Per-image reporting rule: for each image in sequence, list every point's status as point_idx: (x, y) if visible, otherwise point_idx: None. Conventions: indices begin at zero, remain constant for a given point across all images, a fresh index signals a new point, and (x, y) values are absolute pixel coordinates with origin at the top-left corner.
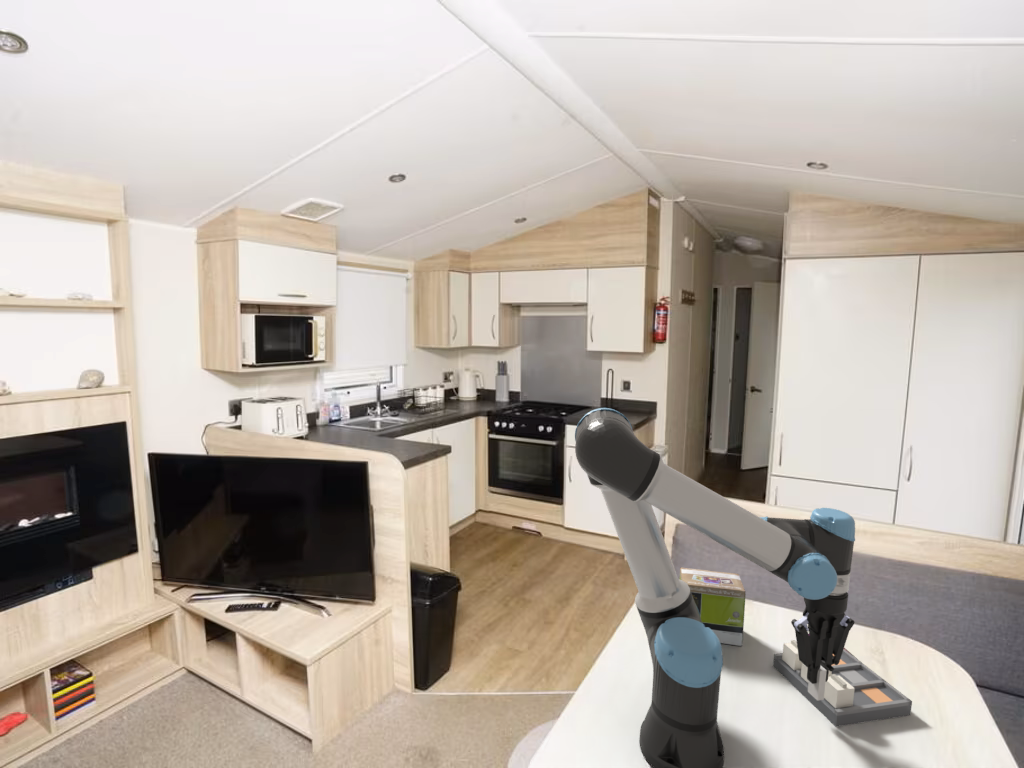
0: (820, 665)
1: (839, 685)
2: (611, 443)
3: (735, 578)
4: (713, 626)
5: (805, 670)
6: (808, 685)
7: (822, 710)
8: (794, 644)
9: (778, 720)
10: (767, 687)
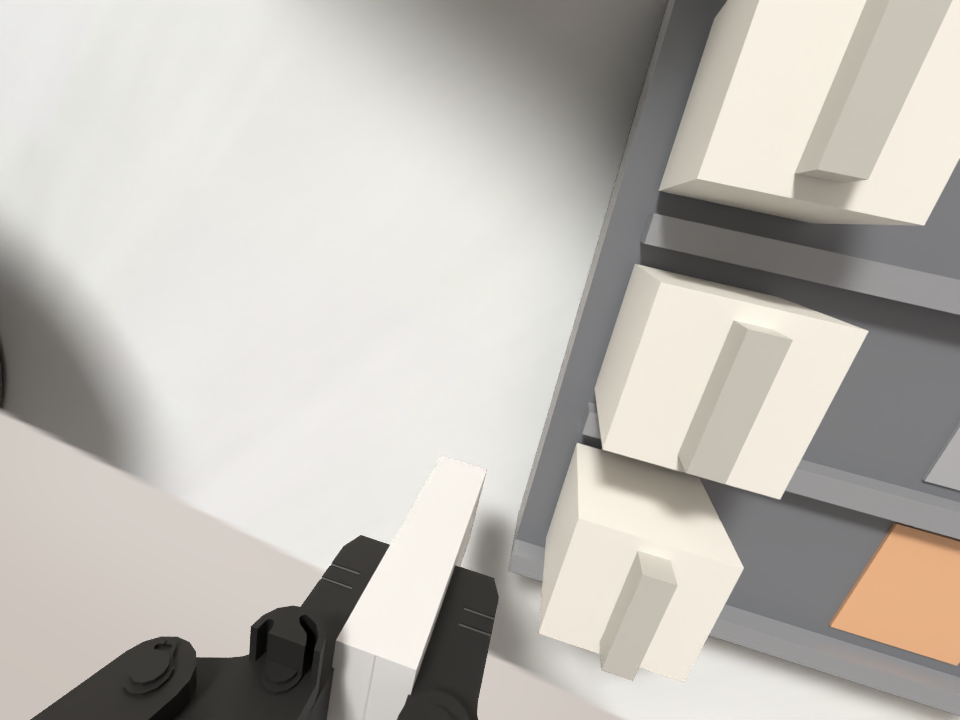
0: (400, 711)
1: (608, 617)
2: None
3: None
4: None
5: (631, 319)
6: (427, 481)
7: (537, 453)
8: (870, 26)
9: (306, 378)
10: (437, 174)
